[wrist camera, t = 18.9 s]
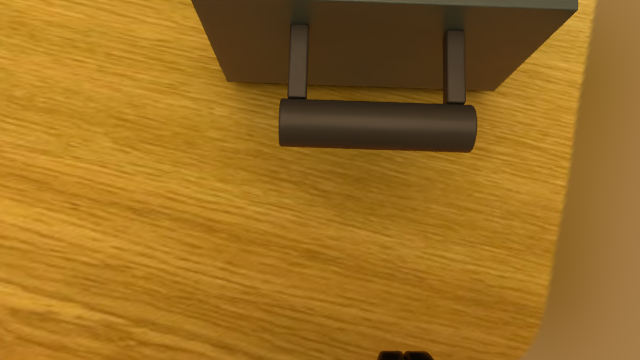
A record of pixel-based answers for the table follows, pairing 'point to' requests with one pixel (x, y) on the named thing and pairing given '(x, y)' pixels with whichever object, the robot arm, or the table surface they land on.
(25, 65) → the table surface
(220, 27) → the drawer
